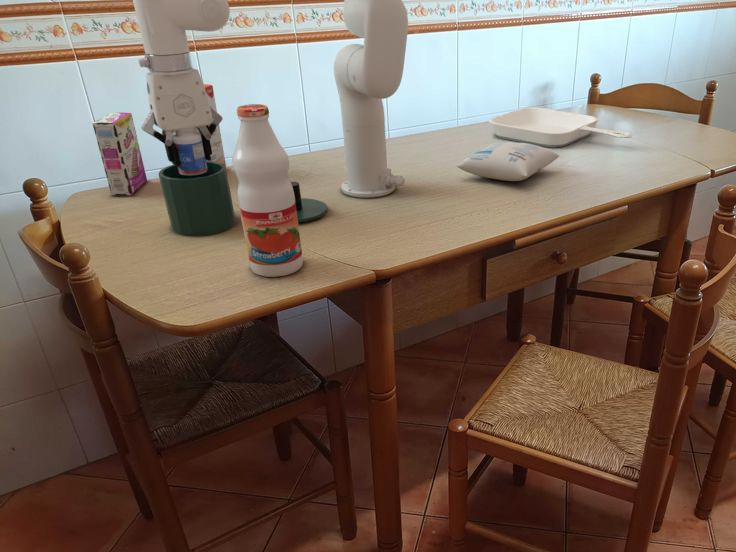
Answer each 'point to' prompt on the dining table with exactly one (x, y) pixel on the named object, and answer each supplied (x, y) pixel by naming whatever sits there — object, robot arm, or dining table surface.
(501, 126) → the pan
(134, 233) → the dining table surface
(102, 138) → the candy bar box
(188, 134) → the pill bottle
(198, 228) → the pot
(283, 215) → the fruit juice
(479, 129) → the dining table surface
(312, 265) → the dining table surface
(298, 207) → the lid
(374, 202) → the dining table surface
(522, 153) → the pouch
